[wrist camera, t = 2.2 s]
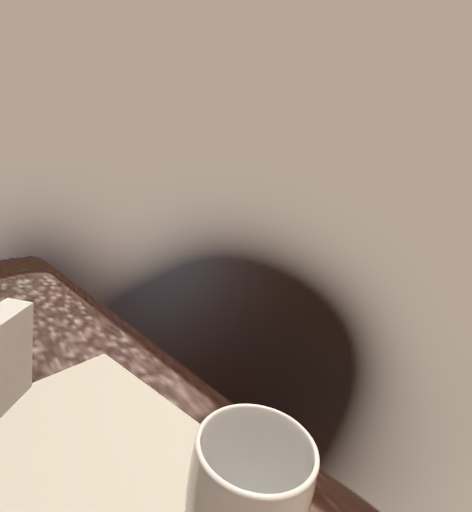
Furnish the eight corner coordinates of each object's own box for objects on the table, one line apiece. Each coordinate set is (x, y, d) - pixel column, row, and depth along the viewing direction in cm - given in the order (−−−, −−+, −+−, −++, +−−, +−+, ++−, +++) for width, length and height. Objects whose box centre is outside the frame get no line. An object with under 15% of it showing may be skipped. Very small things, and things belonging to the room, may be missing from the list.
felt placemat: (-67, 428, 40) (-67, 423, 40) (104, 357, 54) (104, 353, 54) (72, 617, 28) (72, 612, 28) (247, 464, 42) (248, 459, 41)
